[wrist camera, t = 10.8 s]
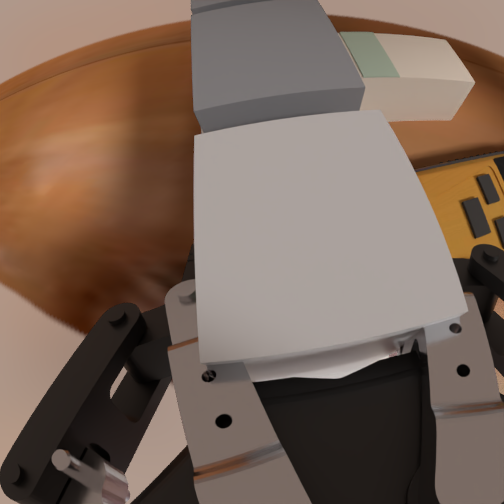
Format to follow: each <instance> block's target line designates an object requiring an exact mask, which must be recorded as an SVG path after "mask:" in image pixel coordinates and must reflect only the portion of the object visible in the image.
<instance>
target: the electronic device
mask: <svg viewBox="0 0 504 504" xmlns="http://www.w3.org/2000/svg"><path fill="white" fill-rule="evenodd" d="M414 171H415V173H416V175H417V177H418V179H419V181H420V183H421V185H422V187H423V189H424V191H425V193H426V196H427V198H428V200H429V202H430V204H431V207H432V209H433V211H434V214H435V216H436V218H437V221H438V223H439V225H440V228H441V230H442V233H443V235H444V238H445V241H446V243H447V246H448V249H449V251H450V254H451V257H452V258H469V259H470V255H471V250H472V248H473V247H474V246H476V245H479V244H490V245H493V246H496V247H498V248H500V249H501V250H503V251H504V151H501V152H497V151H496V152H495V153H489V154H483V155H477V156H475V157H473V156H470V157H469V158H463V159H460V160H459V159H456V160H455V161H448V162H446V163H442V162H441V163H439V164H437V165H432V166H427V167H423V168H418V169H414Z"/></svg>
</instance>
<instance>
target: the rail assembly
mask: <svg viewBox="0 0 504 504" xmlns="http://www.w3.org/2000/svg"><path fill="white" fill-rule="evenodd" d="M191 11H192V14H193V15H191V53H192V85H193V108H194V113H195V115H196V118H197V120H198V122H199V124H200V126H201V134H203V133H208V132H212V131H217V130H222V129H227V128H232V127H237V126H242V125H248V124H254V123H259V122H266V121H272V120H278V119H285V118H292V117H300V116H308V115H317V114H326V113H336V112H348V111H359V110H360V106H361V103H362V99H363V95H364V91H365V88H366V87H365V85H364V83H363V81H362V79H361V77H360V75H359V73H358V71H357V69H356V67H355V65H354V63H353V61H352V59H351V57H350V55H349V53H348V51H347V49H346V48H345V46H344V44H343V42H342V40H341V38H340V37H339V35H338V33H337V31H336V30H335V28H334V26H333V25H332V23H331V21H330V20H329V18H328V16H327V15H326V13H325V11H324V10H323V8H322V7H321V5H320V4H319V2H318V0H191ZM386 358H389V355H388V356H386V357H384V358H382V359H386ZM382 359H380V360H382ZM373 363H374V362H373ZM371 364H372V363H371ZM369 365H370V364H369ZM367 366H368V365H367ZM365 367H366V366H365ZM362 368H364V367H362ZM362 368H359V369H354V370H350V371H345V372H340V373H335V374H330V375H324V376H319V377H313V378H332V379H336V378H342V377H344V376H347V375H349V374H351V373H353V372H355V371H358V370H360V369H362ZM251 381H252V382H256V381H253V380H251Z"/></svg>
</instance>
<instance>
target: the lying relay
mask: <svg viewBox="0 0 504 504" xmlns="http://www.w3.org/2000/svg"><path fill="white" fill-rule="evenodd" d="M338 35H339V37H340V38H341V40H342V42H343V44H344V46H345V48H346V49H347V51H348V53H349V55H350V57H351V59H352V61H353V63H354V65H355V67H356V69H357V71H358V73H359V75H360V77H361V79H362V81H363V83H364V85H365V87H366V88H365V91H364V95H363V99H362V103H361V106H360V110H359V111H362V110H381V112H382V113H383V115H384V117H385V118H386V120H387V122H390V121H417V120H452V118H453V117H454V115H455V114H456V112H457V111H458V109H459V108H460V106H461V104H462V103H463V101H464V100H465V98H466V97H467V95H468V94H469V92H470V90H471V89H472V87H473V86H474V84H475V81H474V80H473V78H472V76H471V75H470V73H469V72H468V70H467V69H466V67H465V66H464V64H463V63H462V61H461V60H460V59H459V57H458V56H457V54H456V53H455V52H454V50H453V49H452V47H451V46H450V45H449V43H448V42H447V41H446V40H443V39H436V38H428V37H420V36H410V35H397V34H378V33H373V32H340V33H338Z"/></svg>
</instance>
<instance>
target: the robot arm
mask: <svg viewBox="0 0 504 504" xmlns="http://www.w3.org/2000/svg"><path fill="white" fill-rule="evenodd" d="M452 260H453V263H454V265H455V268H456V271H457V274H458V277H459V281H460V284H461V287H462V290H463V294H464V297H465V300H466V304H467V308H468V312H466V313H464V314H463V315H461V316H459V317H456V318H453V319H449V320H446V321H443V322H439V323H436V324H432V325H429V326H425V327H423V328H422V329H421V330H420V331H419V332H418V333H416V334H415V335H414V336H413V337H412V338H411V339H409V340H408V341H407V342H406V343H405V344H404V346H402V347H400V348H398V349H397V356H394V357H390V358H386V359H382V360H378V361H376V362H374V363H372V364H370V365H368V366H366V367H364V368H362V369H360V370H358V371H355V372H353V373H351V374H349V375H347V376H344V377H342V378H336V379H332V378H304V377H290V378H283V379H275V380H268V381H260V382H252V381H251V378H250V376H249V374H248V372H247V369H246V367H245V365H244V362H236V363H227V364H217V365H204V364H201V363H200V355H199V340H198V324H197V306H196V283H195V253H194V243H193V244H192V246H191V249H190V253H189V256H188V260H187V261H188V262H187V263H186V267H185V271H184V274H183V278H182V282H181V283H179V284H177V285H176V286H174V287H173V288H171V289H170V290H169V292H168V293H167V294H166V297H165V304H164V305H162V306H160V307H158V308H155V309H152V310H150V311H147V312H144V313H141V312H140V310H139V308H138V307H137V306H136V305H135V304H133V303H122V304H118V305H116V306H114V307H112V308H110V309H109V310H107V311H106V312H105V313H104V314H103V315H102V316H101V318H100V319H99V320H98V322H97V323H96V324H95V325H94V327H93V328H92V329H91V331H90V332H89V333H88V335H87V336H86V337H85V339H84V340H83V342H82V343H81V344H80V346H79V347H78V348H77V350H76V351H75V352H74V354H73V355H72V357H71V358H70V359H69V361H68V362H67V364H66V365H65V366H64V368H63V369H62V371H61V372H60V374H59V375H58V376H57V378H56V379H55V381H54V382H53V384H52V385H51V387H50V388H49V389H48V391H47V393H46V394H45V395H44V397H43V398H42V400H41V402H40V403H39V405H38V406H37V408H36V409H35V411H34V412H33V414H32V415H31V417H30V419H29V420H28V422H27V424H26V425H25V427H24V428H23V430H22V431H21V433H20V435H19V436H18V438H17V440H16V441H15V443H14V445H13V446H12V448H11V450H10V451H9V453H8V455H7V457H6V459H5V460H4V462H3V464H2V466H1V469H0V484H1V487H2V490H3V492H4V493H5V494H6V496H8V497H9V498H10V499H12V500H14V501H16V502H18V503H19V504H125V503H126V502H127V501H128V500H129V498H130V492H129V490H128V482H127V479H126V477H125V475H124V474H125V472H126V470H127V468H128V466H129V464H130V462H131V460H132V458H133V456H134V454H135V452H136V450H137V448H138V446H139V444H140V441H141V440H142V438H143V436H144V433H145V431H146V429H147V427H148V426H149V424H150V421H151V419H152V417H153V415H154V413H155V411H156V409H157V407H158V405H159V403H160V401H161V399H162V397H163V395H164V393H165V391H166V389H167V387H168V385H169V383H170V382H171V379H172V378H173V383H174V388H175V393H176V397H177V402H178V406H179V411H180V415H181V420H182V424H183V428H184V432H185V436H186V440H187V444H188V445H187V446H186V447H185V448H184V449H183V450H182V452H180V453H179V455H178V456H177V457H176V458H175V459H174V460H173V461H172V462H171V463H170V464H169V465H168V466H167V467H166V468H165V469H164V470H163V471H162V473H161V474H160V475H159V476H158V477H157V478H156V479H155V480H154V481H153V482H152V483H151V484H150V485H149V486H148V487H147V488H146V489H145V490H144V491H143V492H142V493H141V494H140V495H139V496H138V497H137V498H136V499H134V501H132V502H131V503H130V504H504V395H503V394H501V393H499V388H498V383H497V377H496V373H495V368H496V369H497V370H498V371H499V372H500V373H501V374H502V376H503V377H504V319H503V318H501V317H500V316H499V315H498V314H497V313H496V312H495V311H493V310H494V307H495V305H496V302H497V300H498V297H499V298H501V299H502V300H503V301H504V251H503V250H501V249H500V248H498V247H496V246H493V245H490V244H479V245H476V246H474V247H473V248H472V250H471V255H470V259H469V258H452ZM123 366H124V367H125V369H126V370H127V373H126V375H125V376H124V378H123V380H122V381H121V383H120V385H119V386H118V388H117V390H116V392H115V393H114V395H113V397H112V398H111V399H110V389H111V386H112V384H113V383H114V381H115V379H116V378H117V376H118V374H119V373H120V371H121V370H122V368H123ZM494 367H495V368H494Z"/></svg>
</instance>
